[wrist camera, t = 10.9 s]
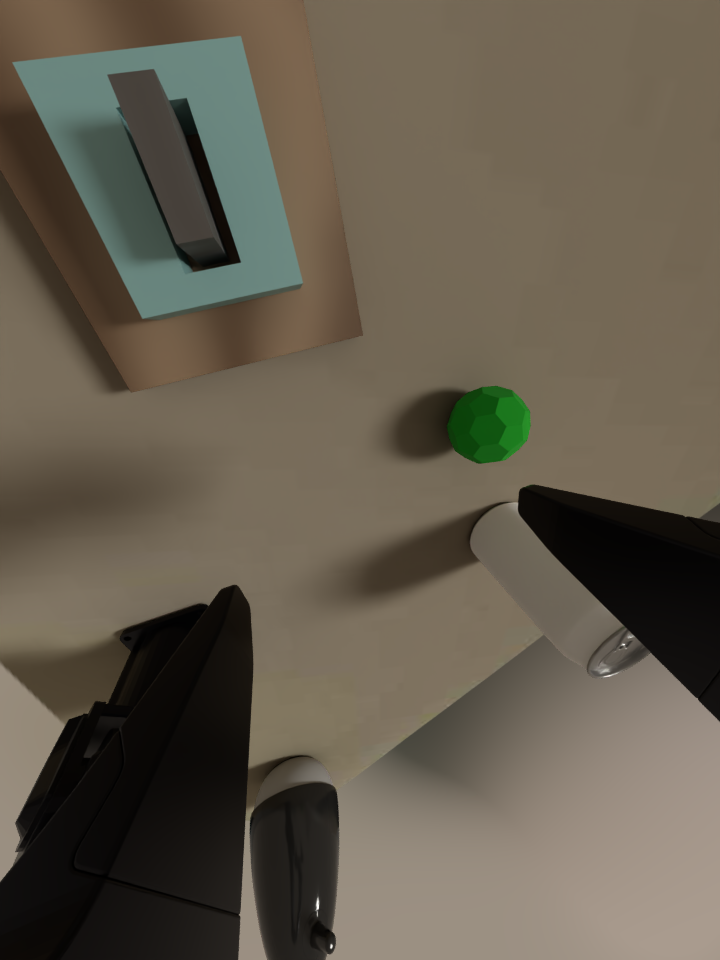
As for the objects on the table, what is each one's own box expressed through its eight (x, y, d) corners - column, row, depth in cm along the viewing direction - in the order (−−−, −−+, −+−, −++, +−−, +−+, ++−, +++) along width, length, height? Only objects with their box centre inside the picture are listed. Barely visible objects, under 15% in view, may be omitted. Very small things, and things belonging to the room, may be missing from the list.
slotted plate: (159, 319, 13) (142, 318, 12) (57, 107, 10) (12, 61, 8) (299, 288, 14) (303, 283, 12) (246, 82, 11) (240, 35, 9)
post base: (143, 387, 16) (85, 412, 11) (-61, 25, 10) (-378, -260, 5) (356, 334, 17) (387, 337, 12) (291, -9, 11) (303, -256, 6)
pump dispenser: (347, 745, 40) (382, 951, 26) (307, 785, 42) (321, 992, 29) (277, 743, 35) (278, 991, 22) (238, 789, 38) (217, 1035, 25)
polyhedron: (429, 398, 20) (468, 415, 16) (493, 369, 20) (547, 380, 16) (443, 458, 23) (480, 487, 18) (499, 433, 23) (549, 456, 19)
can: (459, 558, 28) (564, 691, 18) (479, 500, 25) (618, 618, 15) (514, 554, 30) (639, 672, 20) (538, 499, 27) (699, 603, 17)
